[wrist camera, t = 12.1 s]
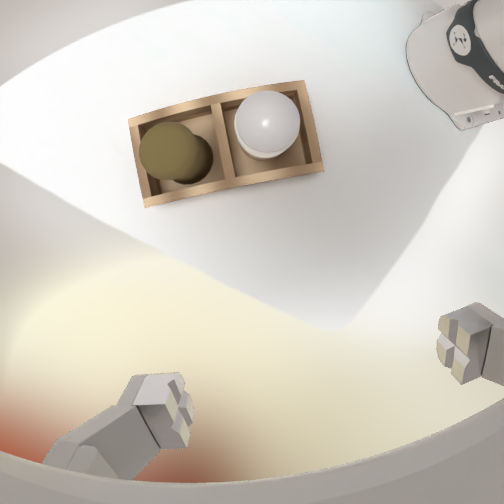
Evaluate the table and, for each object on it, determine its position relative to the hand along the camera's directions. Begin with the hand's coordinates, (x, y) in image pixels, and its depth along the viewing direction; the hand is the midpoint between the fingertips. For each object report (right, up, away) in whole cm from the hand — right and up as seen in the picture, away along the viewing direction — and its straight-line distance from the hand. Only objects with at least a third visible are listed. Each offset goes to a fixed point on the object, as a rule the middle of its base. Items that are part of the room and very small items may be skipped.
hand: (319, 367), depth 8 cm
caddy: (-5, +16, +26) cm, 31 cm away
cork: (-9, +14, +26) cm, 31 cm away
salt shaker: (-1, +16, +25) cm, 30 cm away
